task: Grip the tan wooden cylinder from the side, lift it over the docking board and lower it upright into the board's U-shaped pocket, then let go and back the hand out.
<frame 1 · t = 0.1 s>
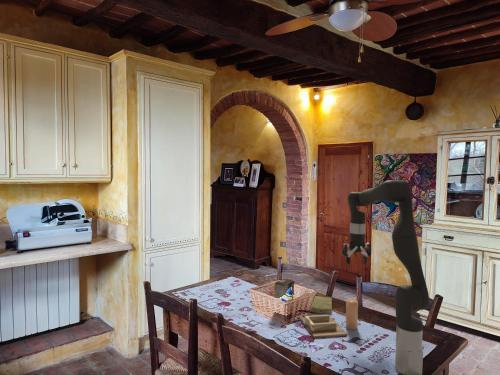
hand: (356, 264, 185), 29 cm above the table, tool pointing down, fingers open, 8 cm apart
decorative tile: (313, 307, 205), on the table
tan wooden cylinder: (351, 327, 179), on the table
dock: (322, 327, 179), on the table
coffee box: (284, 311, 198), on the table
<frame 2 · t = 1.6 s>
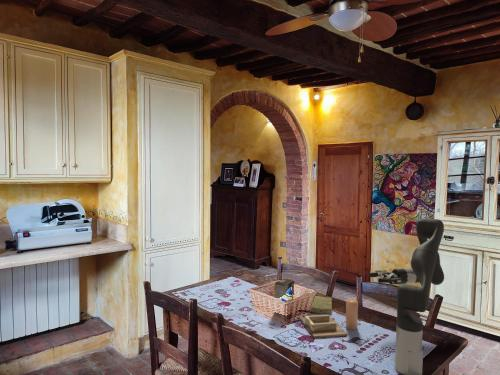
hand: (373, 277, 179), 24 cm above the table, tool horizontal, fingers open, 8 cm apart
nothing on the table moved.
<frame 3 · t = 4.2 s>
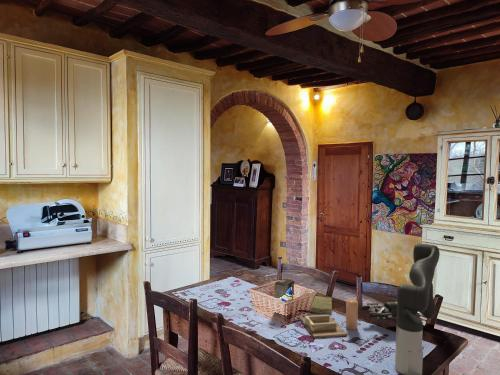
hand: (365, 311, 180), 7 cm above the table, tool horizontal, fingers open, 8 cm apart
nothing on the table moved.
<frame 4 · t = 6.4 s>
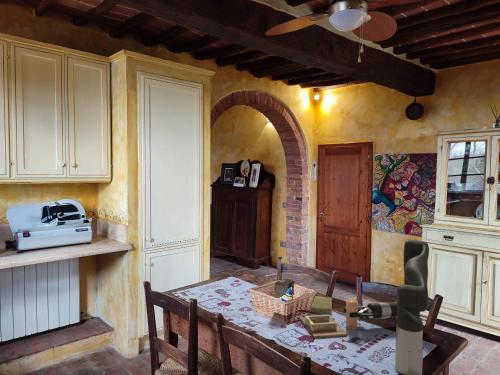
hand: (347, 312, 178), 8 cm above the table, tool horizontal, fingers closed on tan wooden cylinder, 5 cm apart
tan wooden cylinder: (351, 327, 179), on the table, touching gripper
everything else where it was.
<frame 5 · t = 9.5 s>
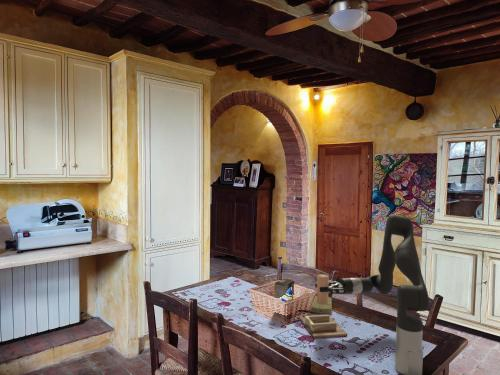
hand: (317, 287, 177), 20 cm above the table, tool horizontal, fingers closed on tan wooden cylinder, 5 cm apart
tan wooden cylinder: (322, 302, 178), point 12 cm above the table, touching gripper
everything else where it was.
when the fingers open (10 cm above the table, at t = 12.5 s): tan wooden cylinder drops 1 cm, resting on dock.
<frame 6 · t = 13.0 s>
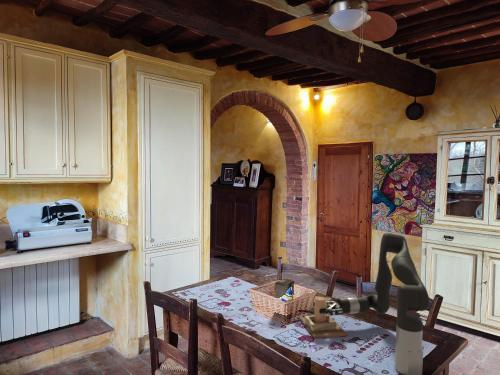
hand: (316, 307, 177), 10 cm above the table, tool horizontal, fingers open, 8 cm apart
tan wooden cylinder: (319, 325, 178), point 1 cm above the table, touching dock
everything else where it was.
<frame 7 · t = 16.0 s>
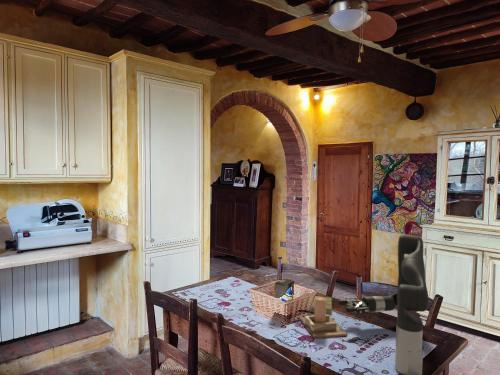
hand: (342, 306, 180), 10 cm above the table, tool horizontal, fingers open, 8 cm apart
nothing on the table moved.
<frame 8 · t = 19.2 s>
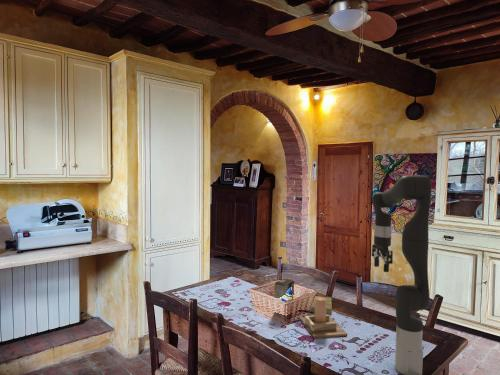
hand: (381, 269, 173), 30 cm above the table, tool pointing down, fingers open, 8 cm apart
nothing on the table moved.
at the end: tan wooden cylinder 0.1 cm from the target spot on the dock, point 1.0 cm above the dock's base; tan wooden cylinder tilted 1°; the gripper is holding nothing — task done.
